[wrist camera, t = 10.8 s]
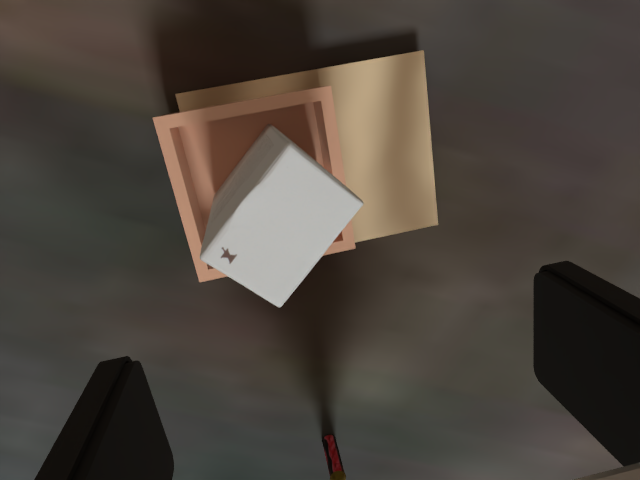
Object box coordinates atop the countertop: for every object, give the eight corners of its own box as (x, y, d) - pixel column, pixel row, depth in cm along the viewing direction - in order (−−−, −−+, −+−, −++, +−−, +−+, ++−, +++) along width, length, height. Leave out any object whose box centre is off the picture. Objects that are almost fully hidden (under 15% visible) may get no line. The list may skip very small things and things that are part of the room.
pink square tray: (320, 86, 29) (331, 85, 25) (343, 231, 32) (355, 248, 28) (164, 114, 28) (152, 117, 24) (204, 260, 31) (199, 282, 27)
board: (416, 51, 30) (423, 50, 29) (431, 220, 34) (438, 224, 33) (177, 93, 29) (175, 94, 27) (222, 265, 33) (222, 271, 31)
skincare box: (265, 232, 30) (278, 314, 19) (212, 195, 29) (193, 260, 18) (321, 161, 30) (368, 204, 18) (269, 119, 28) (286, 137, 17)
